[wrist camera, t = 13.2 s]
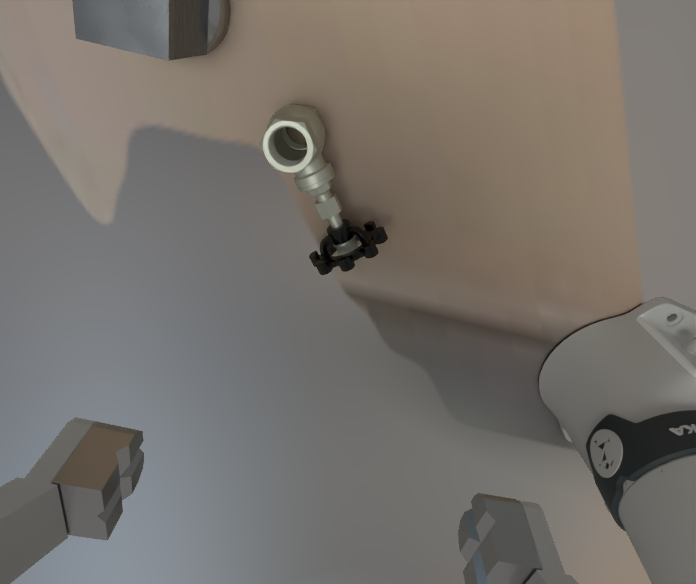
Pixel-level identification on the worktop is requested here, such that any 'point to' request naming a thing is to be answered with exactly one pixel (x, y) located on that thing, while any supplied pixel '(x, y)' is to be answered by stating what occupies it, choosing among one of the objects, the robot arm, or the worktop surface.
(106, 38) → the plain grey cube
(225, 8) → the ratchet
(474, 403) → the worktop surface
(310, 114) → the valve
